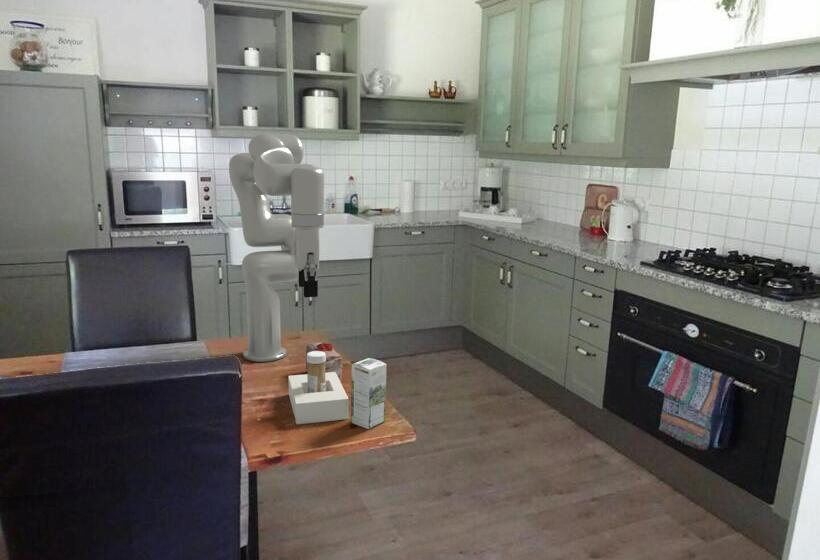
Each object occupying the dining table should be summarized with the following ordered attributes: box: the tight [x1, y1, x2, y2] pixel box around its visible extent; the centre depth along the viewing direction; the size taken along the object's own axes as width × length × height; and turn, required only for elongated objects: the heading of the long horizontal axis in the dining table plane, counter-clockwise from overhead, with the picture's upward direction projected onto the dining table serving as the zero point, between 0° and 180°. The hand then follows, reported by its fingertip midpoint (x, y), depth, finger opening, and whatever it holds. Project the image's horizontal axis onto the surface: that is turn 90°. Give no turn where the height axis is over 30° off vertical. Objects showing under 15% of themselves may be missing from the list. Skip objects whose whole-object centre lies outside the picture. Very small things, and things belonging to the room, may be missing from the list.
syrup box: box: [350, 357, 388, 430], centre depth 140 cm, size 6×6×14 cm
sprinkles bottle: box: [306, 351, 326, 393], centre depth 148 cm, size 5×5×14 cm
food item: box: [305, 341, 344, 383], centre depth 167 cm, size 14×8×10 cm, turn 29°
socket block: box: [287, 372, 350, 425], centre depth 149 cm, size 18×12×5 cm, turn 16°
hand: (307, 291), depth 147 cm, fingers open, 9 cm apart
